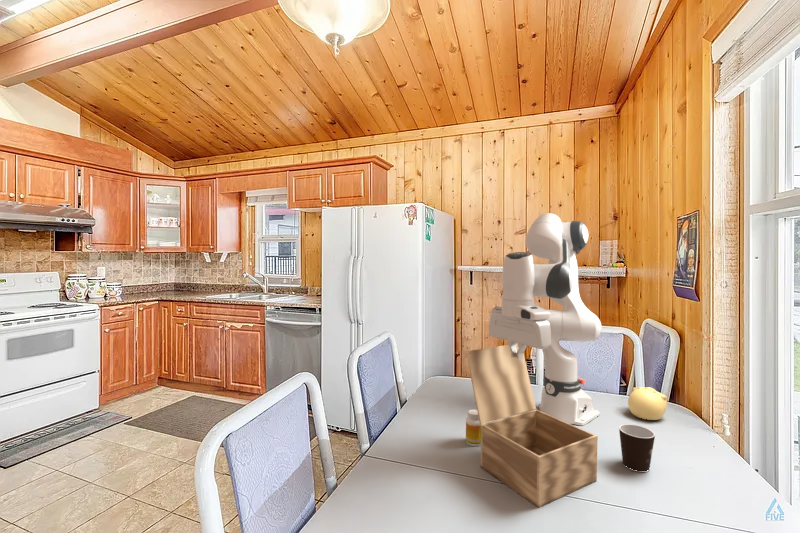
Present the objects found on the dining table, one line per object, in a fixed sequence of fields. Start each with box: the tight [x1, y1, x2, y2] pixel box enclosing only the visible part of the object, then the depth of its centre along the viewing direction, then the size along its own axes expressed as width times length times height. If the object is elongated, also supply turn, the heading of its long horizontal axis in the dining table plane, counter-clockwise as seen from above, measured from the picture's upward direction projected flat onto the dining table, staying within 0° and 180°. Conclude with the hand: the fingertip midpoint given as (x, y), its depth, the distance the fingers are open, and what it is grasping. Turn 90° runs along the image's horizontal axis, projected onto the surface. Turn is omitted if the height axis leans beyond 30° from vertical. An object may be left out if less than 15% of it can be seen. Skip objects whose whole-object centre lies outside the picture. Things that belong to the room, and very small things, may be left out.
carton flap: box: [465, 343, 537, 424], centre depth 116 cm, size 22×20×1 cm
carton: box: [480, 409, 599, 509], centre depth 105 cm, size 22×20×12 cm
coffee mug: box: [618, 423, 656, 471], centre depth 110 cm, size 12×9×10 cm
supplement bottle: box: [465, 409, 482, 447], centre depth 122 cm, size 5×5×10 cm
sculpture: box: [627, 386, 668, 421], centre depth 142 cm, size 12×12×11 cm
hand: (517, 358), depth 110 cm, fingers closed
